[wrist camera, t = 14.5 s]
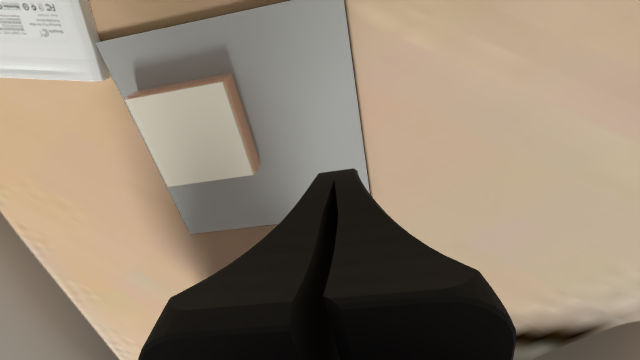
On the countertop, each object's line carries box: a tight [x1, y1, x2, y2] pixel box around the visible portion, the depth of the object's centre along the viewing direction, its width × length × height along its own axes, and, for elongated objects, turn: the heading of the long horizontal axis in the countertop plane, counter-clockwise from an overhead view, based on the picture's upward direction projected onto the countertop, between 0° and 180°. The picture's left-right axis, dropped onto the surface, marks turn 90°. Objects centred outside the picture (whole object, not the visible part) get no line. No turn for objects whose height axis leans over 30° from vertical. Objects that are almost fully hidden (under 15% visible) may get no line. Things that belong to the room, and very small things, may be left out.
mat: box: [96, 0, 370, 234], centre depth 21 cm, size 14×14×1 cm
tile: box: [125, 73, 260, 187], centre depth 20 cm, size 6×2×6 cm
